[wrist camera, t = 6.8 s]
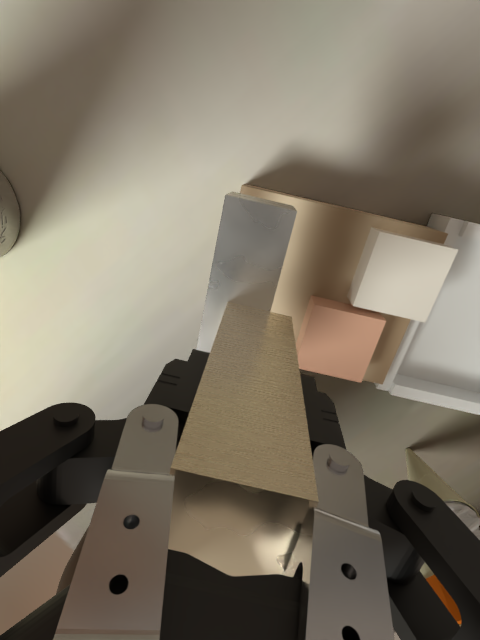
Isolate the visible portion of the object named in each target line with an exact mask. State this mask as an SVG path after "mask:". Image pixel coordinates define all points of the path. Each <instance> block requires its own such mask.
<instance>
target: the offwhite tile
mask: <svg viewBox="0 0 480 640" xmlns="http://www.w3.org/2000/svg"><path fill="white" fill-rule="evenodd" d="M457 252H458V249H455V248H453V247H450V246H448V245H445V244H441V243H437V242H433V241H429V240H424V239H420V238H416V237H411V236H407V235H403V234H399V233H394V232H390V231H386V230H381V229H377V228H373V227H371V229H370V232H369V235H368V238H367V240H366V243H365V246H364V249H363V252H362V255H361V257H360V260H359V263H358V266H357V269H356V272H355V275H354V277H353V280H352V283H351V286H350V289H349V292H348V295H347V298H348V299H349V301H350V302H351V304H352V305H353V306H355V307H359V308H364V309H368V310H373V311H377V312H381V313H386V314H390V315H394V316H399V317H403V318H407V319H412V320H416V321H420V322H426V320H427V318H428V316H429V314H430V311H431V309H432V307H433V305H434V303H435V300H436V298H437V296H438V294H439V292H440V289H441V287H442V285H443V283H444V281H445V278H446V276H447V274H448V272H449V270H450V267H451V265H452V263H453V261H454V259H455V256H456V254H457Z"/></svg>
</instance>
